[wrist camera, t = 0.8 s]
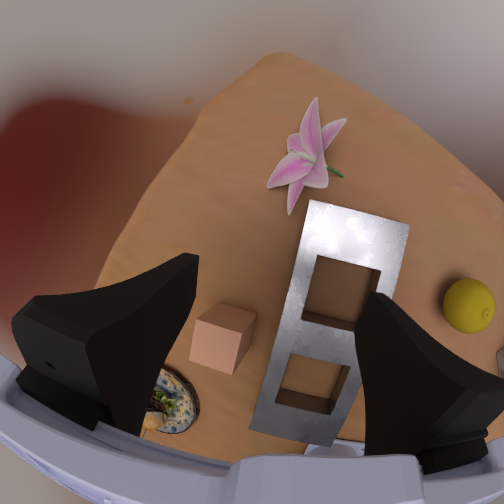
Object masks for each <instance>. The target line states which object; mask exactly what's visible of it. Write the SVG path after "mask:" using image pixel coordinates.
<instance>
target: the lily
mask: <svg viewBox="0 0 504 504" xmlns="http://www.w3.org/2000/svg"><path fill="white" fill-rule="evenodd" d="M346 120H347V119H346V118H343V119H339V120H336V121H333V122H331V123H329V124H327V125H325V126H324V127H323V128H322V129H321V126H320V120H319V113H318V97H316V98H314V100H313V101H312V103H311V104H310V106H309V108H308V109H307V111H306V113H305V115H304V117H303V120H302V123H301V125H300V132H299V133H295V134H291V135H290V136H289V137H288V140H287V150H288V152H287V153H288V155H287V156H285V157H284V158H283V159H282V160H281V161H280V162H279V163H278V165H277V166H276V168H275V169H274V171H273V173H272V175H271V177H270V179H269V181H268V183H267V188H268V189H269V188H273V187H277V186H282V185H286V184H289V183H290V185H289V189H288V198H287V211H288V215H290V214H291V212H292V210H293V208H294V206H295V203H296V201H297V199H298V197H299V195H300V193H301V191H302V189H303V187H304V185H305V186H309V187H314V188H326V187H327V186H328V183H329V179H328V172H327V169H329V170H331V171H332V172H334V173H336V174H337V175H339V176H341V177H344V176H343V175H342V174H340V173H339V172H337V171H336V170H334V169H332V168H331V167H329V166H328V165H326V163H325V159H324V152H325V150H326V149H327V147H328V146H329V144H330V143H331V141H332V140H333V139H334V137H335V136H336V135H337V133H338V132H339V131H340V129H341V128H342V126H343V125H344V124H345V122H346Z"/></svg>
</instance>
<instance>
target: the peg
mask: <svg viewBox="0 0 504 504" xmlns="http://www.w3.org/2000/svg"><path fill="white" fill-rule="evenodd" d="M256 317H257V313H254V312H251V311H247V310H244V309H240V308H237V307H233V306H230V305H226V304H223V303H219V304H217V305H216V306H214V307H213V308H212V309H210V310H209V311H207V312H206V313H204V314H203V315H201V316H200V317H198V318H197V319H196V322H195V327H194V333H193V339H192V344H191V350H190V356H189V360H190V361H193V362H195V363H198V364H201V365H204V366H207V367H209V368H212V369H215V370H218V371H221V372H224V373H227V374H230V375H232V374H233V373H234V371H235V370H236V368H237V367H238V365H239V363H240V362H241V360H242V359H243V357H244V355H245V354H246V352H247V351H248V349H249V346H250V342H251V338H252V334H253V330H254V326H255V321H256Z"/></svg>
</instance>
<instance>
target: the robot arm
mask: <svg viewBox="0 0 504 504" xmlns="http://www.w3.org/2000/svg"><path fill="white" fill-rule="evenodd" d="M198 264H199V255H194V254H190V253H183V254H180V255H178V256H177V257H175V258H173V259H171V260H169V261H167V262H165V263H163V264H161V265H159V266H157V267H155V268H153V269H151V270H149V271H147V272H144V273H142V274H140V275H138V276H136V277H133V278H131V279H128V280H125V281H122V282H119V283H116V284H113V285H110V286H106V287H102V288H98V289H94V290H90V291H84V292H78V293H71V294H62V295H42V296H34V297H33V298H32V299H31V300H30V301H29V302H28V303H27V304H26V305H25V306H24V307H23V308H22V309H21V310H20V311H18V312H17V313H16V315H14V316H13V318H12V322H11V324H12V332H13V335H14V338H15V340H16V343H17V345H18V347H19V349H20V351H21V353H22V355H23V358H24V359H25V362H26V364H27V366H26V367H25V368H24V369H23V371H22V370H21V369H20V368H19V367H18V365H17V364H15V363H14V362H13V361H11V360H10V359H8V358H7V357H5V356H4V355H3V354H1V353H0V441H1V442H2V443H4V444H5V445H6V446H7V447H8V448H10V449H11V450H12V451H13V452H15V453H16V454H17V455H19V456H20V457H21V458H22V459H24V460H25V461H26V462H28V463H29V464H30V465H32V466H33V467H35V468H36V469H38V470H39V471H40V472H42V473H43V474H45V475H46V476H48V477H49V478H51V479H52V480H54V481H56V482H57V483H59V484H60V485H62V486H64V487H65V488H67V489H69V490H70V491H72V492H74V493H76V494H77V495H79V496H81V497H83V498H85V499H87V500H89V501H90V502H93V503H95V504H487V503H488V502H490V501H492V500H493V499H495V498H497V497H498V496H500V495H502V494H503V493H504V436H503V437H500V438H497V439H494V440H492V441H490V442H488V443H485V440H484V438H485V437H487V436H488V431H487V428H486V427H488V426H489V425H490V424H491V423H492V422H493V421H494V420H495V419H496V418H497V417H498V416H499V415H500V414H501V413H502V412H503V411H504V379H503V378H500V377H498V376H495V375H493V374H490V373H488V372H486V371H484V370H482V369H480V368H478V367H476V366H474V365H472V364H470V363H468V362H467V361H465V360H463V359H462V358H460V357H459V356H457V355H455V354H454V353H452V352H451V351H450V350H448V349H447V348H445V347H444V346H443V345H441V344H440V343H439V342H438V341H436V340H435V339H434V338H433V337H431V336H430V335H429V334H428V333H427V332H426V331H425V330H423V329H422V328H421V327H420V326H419V325H418V324H417V323H416V322H415V321H414V320H413V319H412V318H411V317H410V316H408V315H407V314H406V313H405V312H404V311H403V310H402V309H401V308H400V307H399V306H398V305H397V304H396V303H395V302H394V301H393V300H391V299H390V298H389V297H388V296H387V295H385V294H384V293H380V292H374V291H371V292H370V294H369V296H368V299H367V301H366V303H365V305H364V308H363V310H362V312H361V314H360V316H359V319H358V321H357V323H356V325H355V327H354V339H355V349H356V354H357V359H358V364H359V369H360V374H361V379H362V384H363V389H364V396H365V414H366V432H365V443H362V442H354V441H347V440H340V439H335V440H334V442H333V444H332V446H331V448H330V447H324V446H318V445H313V444H308V446H307V448H306V450H305V452H304V454H275V453H266V454H260V455H254V456H247V457H245V458H243V459H241V460H240V461H238V462H237V463H232V462H227V461H222V460H217V459H212V458H208V457H204V456H199V455H195V454H191V453H188V452H184V451H180V450H177V449H173V448H170V447H167V446H164V445H160V444H157V443H154V442H151V441H148V440H145V439H143V438H140V433H141V429H142V426H143V422H144V419H145V415H146V412H147V409H148V406H149V403H150V400H151V397H152V394H153V391H154V388H155V385H156V382H157V380H158V377H159V374H160V372H161V369H162V366H163V364H164V362H165V360H166V357H167V355H168V353H169V351H170V350H171V348H172V346H173V344H174V342H175V340H176V338H177V337H178V335H179V333H180V331H181V329H182V327H183V326H184V324H185V322H186V320H187V318H188V316H189V313H190V311H191V308H192V306H193V303H194V300H195V297H196V287H197V275H198ZM363 448H364V449H363ZM363 455H364V456H363Z"/></svg>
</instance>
